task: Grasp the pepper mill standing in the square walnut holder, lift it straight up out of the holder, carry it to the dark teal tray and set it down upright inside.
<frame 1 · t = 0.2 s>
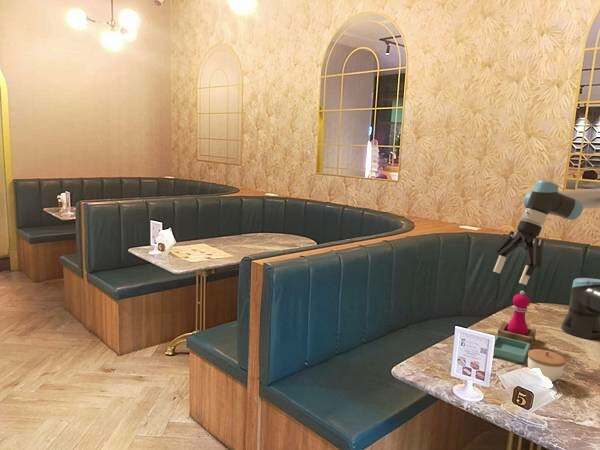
hand: (508, 278, 169), 28 cm above the table, tool tilted 15°, fingers open, 13 cm apart
pepper mill: (515, 340, 185), resting in walnut holder
teal tray: (508, 352, 172), on the table
walnut holder: (516, 339, 185), on the table
lidded jar: (543, 379, 153), on the table
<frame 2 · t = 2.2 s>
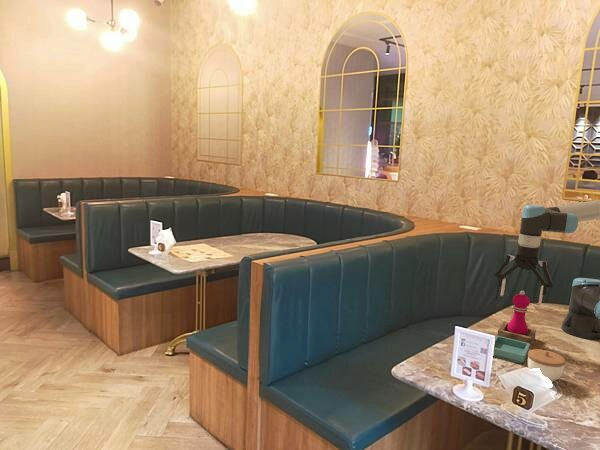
hand: (520, 299, 182), 17 cm above the table, tool pointing down, fingers open, 13 cm apart
nothing on the table moved.
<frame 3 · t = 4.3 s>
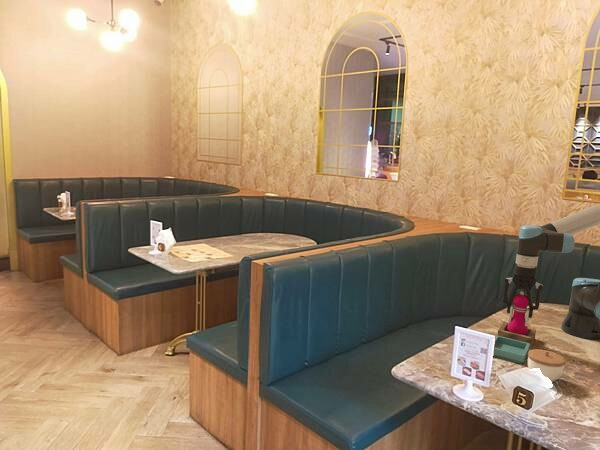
hand: (518, 323, 184), 7 cm above the table, tool pointing down, fingers closed on pepper mill, 5 cm apart
pepper mill: (515, 340, 185), resting in walnut holder, touching gripper
everything else where it was.
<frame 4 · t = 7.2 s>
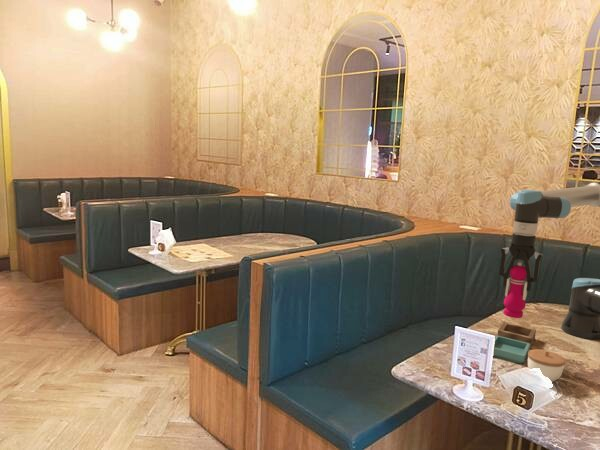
hand: (515, 297, 169), 21 cm above the table, tool pointing down, fingers closed on pepper mill, 5 cm apart
pepper mill: (512, 315, 170), point 14 cm above the table, touching gripper
everything else where it was.
when the fingers open (9 cm above the table, at t = 10.3 s): pepper mill stays where it is, resting on teal tray.
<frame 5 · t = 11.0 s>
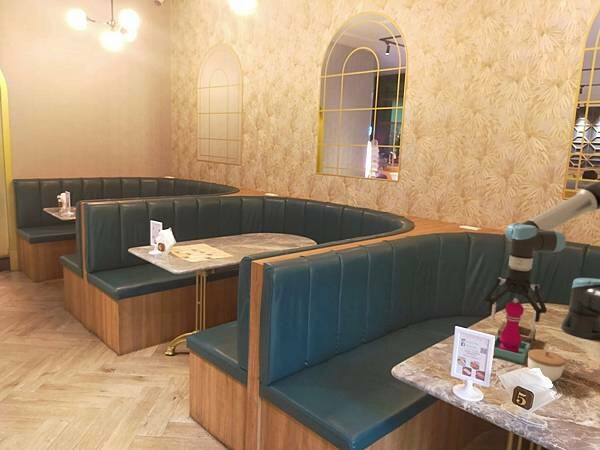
hand: (512, 325, 170), 11 cm above the table, tool pointing down, fingers open, 13 cm apart
pepper mill: (508, 351, 171), point 1 cm above the table, touching teal tray
everything else where it was.
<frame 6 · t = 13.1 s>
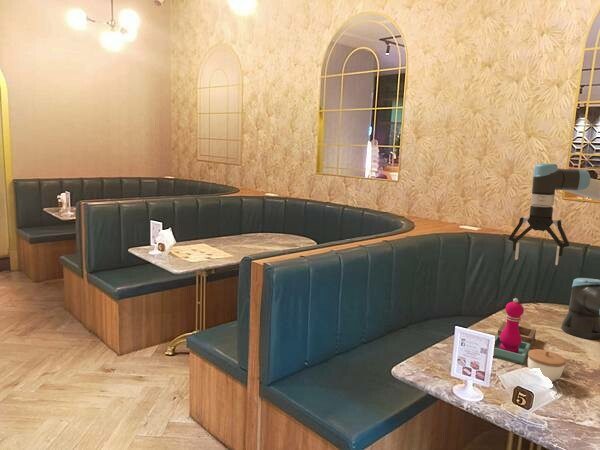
hand: (536, 261, 176), 32 cm above the table, tool pointing down, fingers open, 13 cm apart
nothing on the table moved.
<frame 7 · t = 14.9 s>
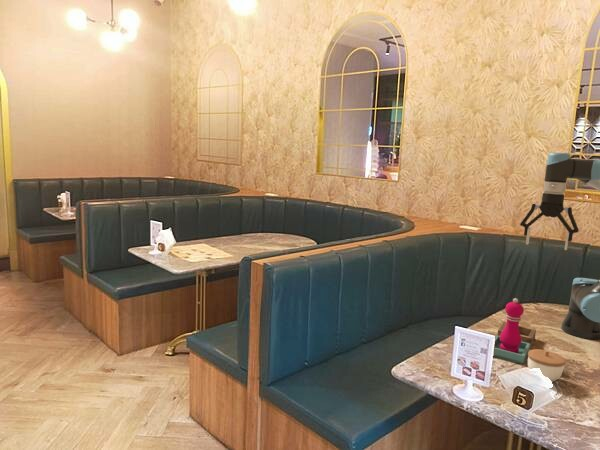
hand: (546, 246, 184), 37 cm above the table, tool pointing down, fingers open, 13 cm apart
nothing on the table moved.
at the end: pepper mill inside the target area on the teal tray (0.1 cm from its centre), point 0.6 cm above the teal tray's base; pepper mill tilted 0°; the gripper is holding nothing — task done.
